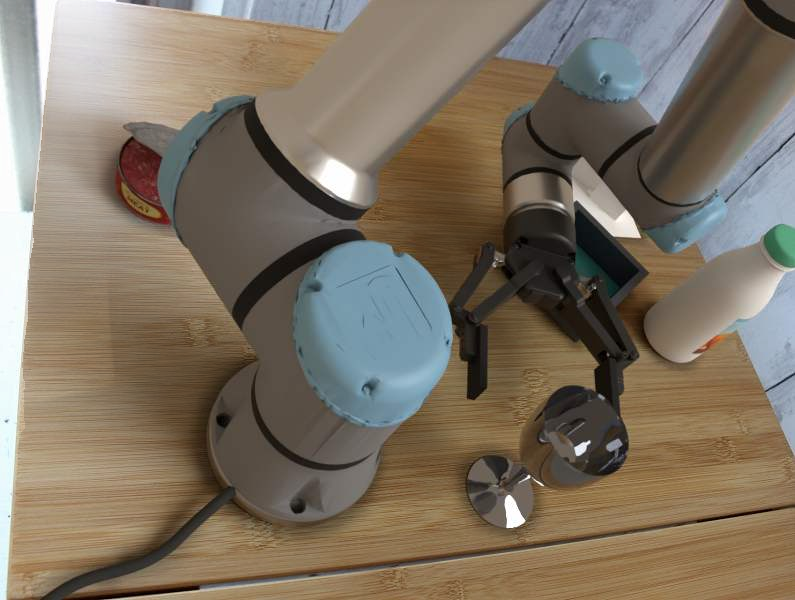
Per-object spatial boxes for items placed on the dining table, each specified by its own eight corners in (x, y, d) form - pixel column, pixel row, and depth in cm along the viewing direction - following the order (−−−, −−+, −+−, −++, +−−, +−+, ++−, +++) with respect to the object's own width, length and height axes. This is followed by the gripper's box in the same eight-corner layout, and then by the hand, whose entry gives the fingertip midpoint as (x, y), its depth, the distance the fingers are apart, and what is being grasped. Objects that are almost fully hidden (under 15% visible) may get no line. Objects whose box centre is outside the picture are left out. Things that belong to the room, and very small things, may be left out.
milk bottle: (656, 367, 96) (784, 273, 80) (631, 309, 99) (749, 208, 84) (706, 363, 99) (837, 273, 84) (680, 306, 103) (801, 210, 87)
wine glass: (537, 462, 82) (625, 398, 71) (537, 540, 78) (632, 486, 66) (464, 442, 80) (543, 374, 69) (460, 522, 76) (544, 463, 64)
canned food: (109, 196, 85) (95, 102, 80) (205, 180, 89) (198, 90, 84) (137, 248, 77) (124, 148, 72) (241, 228, 81) (236, 132, 76)
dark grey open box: (575, 343, 93) (599, 322, 89) (501, 265, 95) (521, 242, 91) (626, 293, 100) (649, 272, 97) (556, 222, 102) (576, 199, 98)
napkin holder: (533, 140, 109) (556, 110, 104) (603, 147, 114) (627, 118, 109) (570, 235, 102) (596, 207, 97) (642, 238, 107) (670, 211, 102)
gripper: (621, 276, 94) (638, 451, 82) (415, 215, 87) (402, 396, 76) (661, 239, 88) (686, 422, 76) (443, 171, 81) (434, 360, 70)
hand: (544, 410), depth 76 cm, fingers open, 13 cm apart
